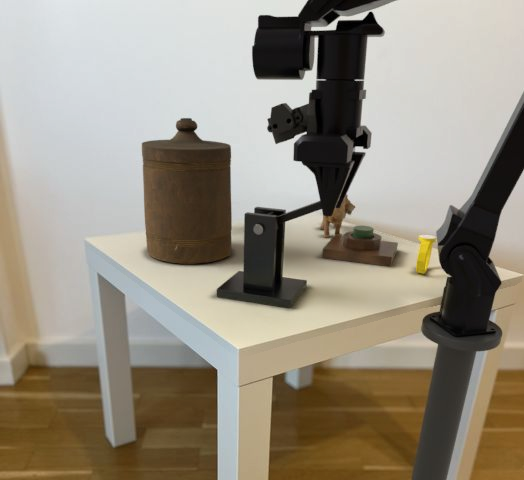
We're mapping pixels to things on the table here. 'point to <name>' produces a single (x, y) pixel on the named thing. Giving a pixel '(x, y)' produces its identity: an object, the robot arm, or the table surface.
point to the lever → (298, 212)
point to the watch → (424, 252)
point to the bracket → (263, 264)
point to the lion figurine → (337, 217)
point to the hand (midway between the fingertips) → (331, 211)
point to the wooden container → (187, 197)
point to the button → (363, 232)
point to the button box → (361, 249)
